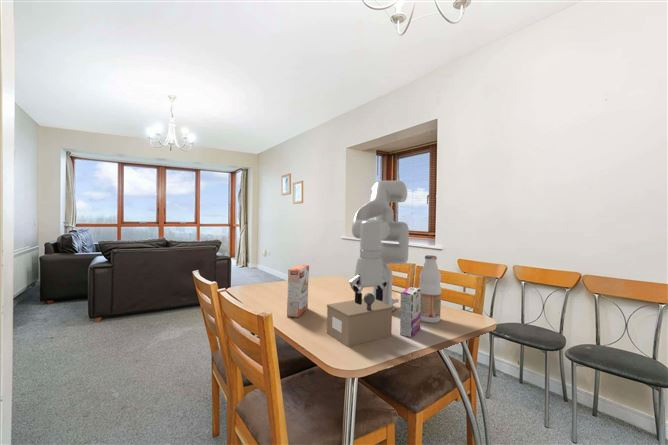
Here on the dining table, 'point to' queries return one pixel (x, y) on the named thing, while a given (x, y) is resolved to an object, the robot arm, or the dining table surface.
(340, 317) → the carton
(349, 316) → the carton lid
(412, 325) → the candy bar box
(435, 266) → the fruit juice
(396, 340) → the dining table surface
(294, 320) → the dining table surface
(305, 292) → the cracker box
